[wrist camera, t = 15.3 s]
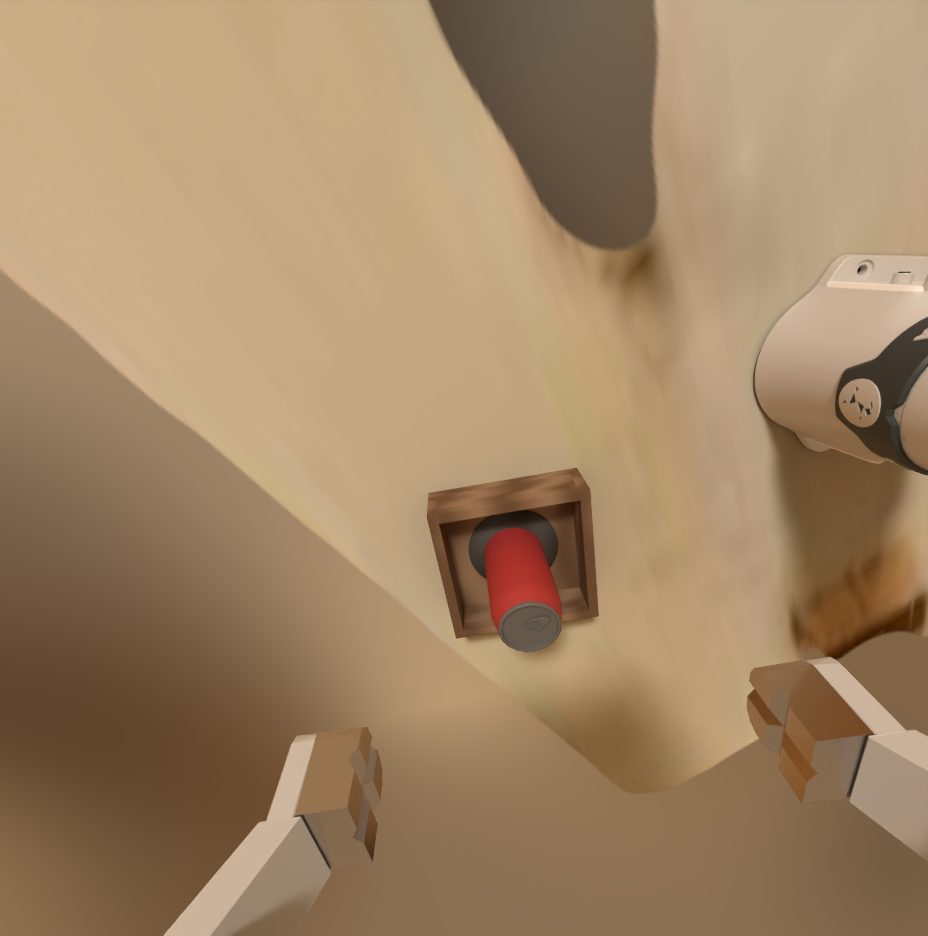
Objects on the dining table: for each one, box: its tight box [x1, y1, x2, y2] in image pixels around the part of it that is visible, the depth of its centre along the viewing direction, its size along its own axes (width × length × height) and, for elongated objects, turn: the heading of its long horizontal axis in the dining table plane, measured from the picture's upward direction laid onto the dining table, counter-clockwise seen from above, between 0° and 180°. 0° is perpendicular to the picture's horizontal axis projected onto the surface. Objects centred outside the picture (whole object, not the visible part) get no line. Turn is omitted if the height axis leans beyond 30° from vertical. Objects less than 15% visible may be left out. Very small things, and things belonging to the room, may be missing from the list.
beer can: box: [484, 528, 562, 652], centre depth 45 cm, size 7×7×12 cm
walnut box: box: [427, 468, 599, 639], centre depth 50 cm, size 16×16×5 cm
